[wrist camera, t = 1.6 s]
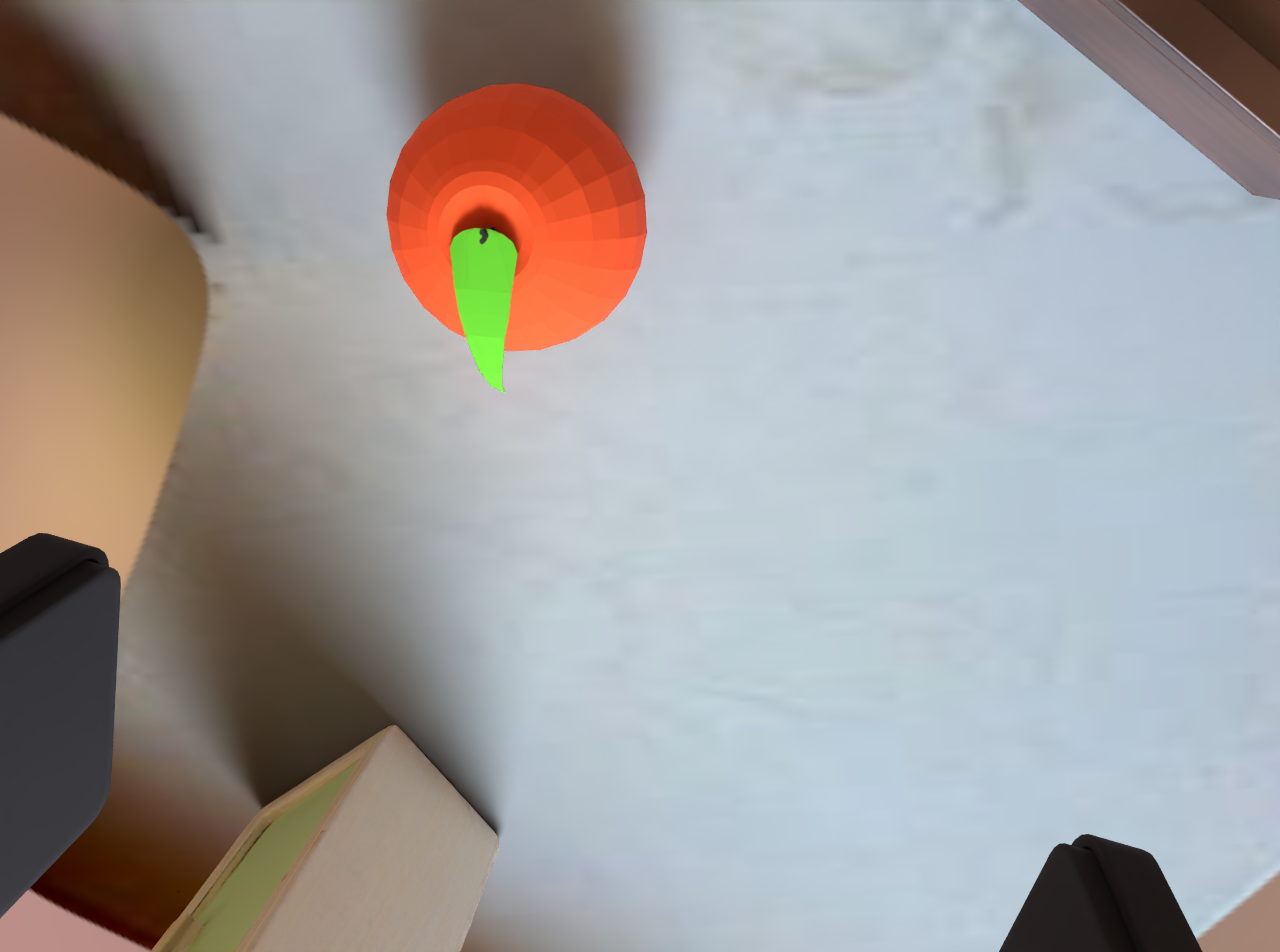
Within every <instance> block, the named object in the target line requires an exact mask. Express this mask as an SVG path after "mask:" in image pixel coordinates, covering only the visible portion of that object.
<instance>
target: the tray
mask: <svg viewBox="0 0 1280 952" xmlns="http://www.w3.org/2000/svg"><path fill="white" fill-rule="evenodd" d="M1018 1H1019V2H1021V3H1022V4H1023V5H1024V6H1025V7H1027V8H1028V9H1029V10H1030V11H1031V12H1033V13H1034V14H1035V15H1036V16H1037V17H1039V18H1040V19H1041V20H1042V21H1043V22H1045V23H1046V24H1047V25H1048V26H1050V27H1051V28H1052V29H1053V30H1054V31H1056V32H1057V33H1058V34H1059V35H1060V36H1062V37H1063V38H1064V39H1065V40H1066V41H1068V42H1069V43H1070V44H1071V45H1072V46H1074V47H1075V48H1076V49H1077V50H1078V51H1080V52H1081V53H1082V54H1083V55H1084V56H1086V57H1087V58H1088V59H1089V60H1090V61H1092V62H1093V63H1094V64H1095V65H1097V66H1098V67H1099V68H1100V69H1101V70H1103V71H1104V72H1105V73H1106V74H1107V75H1109V76H1110V77H1111V78H1112V79H1113V80H1115V81H1116V82H1117V83H1118V84H1119V85H1121V86H1122V87H1123V88H1124V89H1125V90H1127V91H1128V92H1129V93H1130V94H1131V95H1133V96H1134V97H1135V98H1136V99H1138V100H1139V101H1140V102H1141V103H1142V104H1144V105H1145V106H1146V107H1147V108H1148V109H1150V110H1151V111H1152V112H1153V113H1154V114H1156V115H1157V116H1158V117H1159V118H1160V119H1162V120H1163V121H1164V122H1165V123H1166V124H1168V125H1169V126H1170V127H1171V128H1172V129H1174V130H1175V131H1176V132H1177V133H1178V134H1180V135H1181V136H1182V137H1183V138H1185V139H1186V140H1187V141H1188V142H1189V143H1191V144H1192V145H1193V146H1194V147H1195V148H1197V149H1198V150H1199V151H1200V152H1201V153H1203V154H1204V155H1205V156H1206V157H1207V158H1209V159H1210V160H1211V161H1212V162H1213V163H1215V164H1216V165H1217V166H1218V167H1219V168H1221V169H1222V170H1223V171H1224V172H1226V173H1227V174H1228V175H1229V176H1230V177H1232V178H1233V179H1234V180H1235V181H1236V182H1238V183H1239V184H1240V185H1241V186H1242V187H1244V188H1245V189H1246V190H1247V191H1248V192H1250V193H1251V194H1252V195H1256V196H1262V197H1267V198H1273V199H1278V200H1280V0H1018Z"/></svg>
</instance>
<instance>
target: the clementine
mask: <svg viewBox="0 0 1280 952" xmlns="http://www.w3.org/2000/svg"><path fill="white" fill-rule="evenodd" d="M387 220H388V227H389V233H390V240H391V247H392V251H393V253H394V256H395V258H396V261H397V263H398V266H399V268H400V271H401V273H402V276H403V278H404V280H405V281H406V283H407V284H408V286H409V287H410V289H411V290H412V291H413V293H414V294H415V296H416V297H417V298H418V300H419V301H420V303H421V304H422V305H423V307H424V308H425V309H426V310H428V311H429V312H430V313H431V314H432V315H433V316H434V317H436V318H437V319H438V320H439V321H440V322H441V323H442V324H444V325H445V326H446V327H447V328H448V329H450V330H452V331H454V332H456V333H457V334H459V335H461V336H463V337H465V338H467V341H468V344H469V347H470V349H471V352H472V355H473V357H474V359H475V362H476V364H477V366H478V369H479V371H480V372H481V374H482V375H483V376H484V378H485V379H486V380H487V382H488V383H489V384H490V386H492V387H494V388H496V389H498V390H500V391H502V392H504V393H505V390H504V388H503V386H502V369H503V357H504V350H506V351H522V350H541V349H544V348H547V347H551V346H554V345H557V344H560V343H563V342H567V341H570V340H572V339H575V338H577V337H579V336H580V335H582V334H584V333H585V332H587V331H588V330H590V329H591V328H593V327H594V326H596V325H598V324H599V323H601V322H602V321H604V320H605V319H606V317H607V316H608V315H609V314H610V313H611V312H612V311H613V310H614V308H615V307H616V306H617V305H618V304H619V303H620V302H621V301H622V299H623V298H624V297H625V296H626V294H627V292H628V290H629V288H630V286H631V284H632V282H633V280H634V278H635V276H636V274H637V272H638V270H639V267H640V264H641V259H642V254H643V249H644V244H645V239H646V234H647V228H646V211H645V195H644V192H643V189H642V186H641V183H640V179H639V176H638V173H637V170H636V167H635V164H634V162H633V160H632V159H631V157H630V156H629V154H628V152H627V151H626V149H625V148H624V146H623V144H622V143H621V141H620V140H619V138H618V136H617V135H616V133H615V132H614V131H613V130H612V129H611V128H610V127H608V126H607V125H606V124H605V123H604V122H603V121H602V120H601V119H600V118H599V117H598V116H597V115H596V114H595V113H594V112H593V111H591V110H590V109H589V108H588V107H587V106H585V105H583V104H581V103H579V102H577V101H575V100H573V99H572V98H570V97H568V96H566V95H564V94H562V93H560V92H558V91H557V90H552V89H548V88H543V87H538V86H534V85H529V84H525V83H516V84H502V85H488V86H485V87H483V88H480V89H478V90H475V91H472V92H470V93H467V94H465V95H462V96H459V97H457V98H455V99H453V100H450V101H448V102H447V103H446V104H444V105H443V106H442V107H440V108H439V109H438V110H437V111H435V112H434V113H433V114H431V115H430V116H429V117H428V118H426V119H425V120H424V121H422V122H421V124H420V125H419V126H418V128H417V129H416V130H415V132H414V133H413V135H412V136H411V137H410V139H409V140H408V141H407V143H406V144H405V146H404V147H403V148H402V150H401V153H400V156H399V158H398V161H397V164H396V166H395V169H394V172H393V174H392V177H391V180H390V187H389V197H388V207H387Z"/></svg>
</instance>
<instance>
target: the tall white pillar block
mask: <svg viewBox="0 0 1280 952" xmlns="http://www.w3.org/2000/svg"><path fill="white" fill-rule="evenodd" d="M498 849H499V838H498V836H497V835H496V833H495V832H494V831H493V830H492V829H491V828H490V827H489V825H488V824H487V823H486V822H485V821H484V820H483V819H482V818H481V817H480V816H479V815H478V813H477V812H476V811H475V810H474V809H473V808H472V807H471V806H470V804H469V803H468V802H467V801H466V800H465V799H464V798H463V797H462V796H461V795H460V794H459V793H458V791H457V790H456V789H455V788H454V787H453V785H452V784H451V783H450V782H449V781H448V780H447V779H446V778H445V777H444V776H443V775H442V774H441V773H440V772H439V770H438V769H437V768H436V767H435V766H434V765H433V764H432V763H431V762H430V761H429V760H428V758H427V757H426V756H425V755H424V754H423V753H422V752H421V751H420V750H419V749H418V747H417V746H416V745H415V744H414V743H413V742H412V741H411V740H410V739H409V738H408V737H407V735H406V734H405V733H404V732H403V731H402V730H401V729H400V728H399V727H398V726H396V725H391V726H388V727H386V728H385V729H383V730H381V731H380V732H378V733H377V734H375V735H374V736H372V737H371V738H369V739H367V740H366V741H364V742H363V743H361V744H360V745H358V746H357V747H355V748H354V749H352V750H351V751H349V752H348V753H346V754H345V755H343V756H342V757H340V758H338V759H337V760H335V761H334V762H332V763H331V764H329V765H328V766H326V767H325V768H323V769H322V770H320V771H319V772H317V773H316V774H314V775H312V776H311V777H309V778H308V779H306V780H305V781H303V782H302V783H300V784H299V785H297V786H296V787H294V788H293V789H291V790H290V791H288V792H287V793H285V794H284V795H282V796H280V797H279V798H277V799H276V800H274V801H273V802H271V803H270V804H268V805H267V806H265V807H264V808H262V809H261V810H260V811H259V812H258V813H257V814H256V815H255V816H254V817H253V819H252V820H251V821H250V822H249V824H248V825H247V826H246V828H245V829H244V831H243V832H242V833H241V835H240V836H239V837H238V838H237V840H236V841H235V842H234V844H233V845H232V847H231V848H230V850H229V851H228V852H227V854H226V855H225V856H224V858H223V859H222V860H221V862H220V863H219V864H218V866H217V867H216V868H215V870H214V871H213V873H212V874H211V875H210V877H209V878H208V879H207V881H206V882H205V883H204V885H203V886H202V887H201V889H200V890H199V891H198V893H197V894H196V895H195V897H194V898H193V899H192V901H191V902H190V903H189V905H188V906H187V908H186V909H185V910H184V912H183V913H182V914H181V915H180V917H179V918H178V919H177V920H176V921H174V922H173V924H172V925H171V926H170V927H169V929H168V930H167V931H166V932H165V934H164V935H163V936H162V938H161V939H160V940H159V941H158V943H157V944H156V945H155V947H154V948H153V949H152V951H151V952H460V951H461V948H462V946H463V943H464V940H465V938H466V935H467V932H468V930H469V927H470V925H471V922H472V919H473V917H474V914H475V911H476V909H477V906H478V903H479V901H480V898H481V895H482V893H483V890H484V888H485V885H486V882H487V880H488V877H489V874H490V872H491V869H492V866H493V864H494V861H495V859H496V856H497V853H498Z"/></svg>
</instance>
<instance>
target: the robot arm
mask: <svg viewBox="0 0 1280 952" xmlns="http://www.w3.org/2000/svg"><path fill="white" fill-rule="evenodd" d="M120 589H121V582H120V576H119V574H118V571H116V570H115V569H114V568H111V567H109V564H108V559H107V557H106V555H105V553H104V552H103V551H102V550H100V549H99V548H96V547H92V546H88V545H85V544H82V543H78V542H75V541H72V540H68V539H64V538H61V537H58V536H54V535H51V534H46V533H38V534H36V535H33V536H30V537H28V538H27V539H25V540H23V541H21V542H19V543H18V544H16V545H14V546H12V547H11V548H9V549H7V550H5V551H4V552H2V553H0V918H1V917H2V916H3V915H4V914H5V913H6V912H7V911H8V910H9V909H10V908H11V906H12V905H14V904H15V902H16V901H17V900H18V899H19V898H20V897H21V896H22V895H23V894H24V893H25V892H26V891H27V890H28V889H29V888H30V887H31V886H32V885H33V884H34V883H35V882H36V881H37V880H38V879H39V878H40V876H41V875H42V874H43V873H44V872H45V871H46V870H47V869H48V868H49V867H50V866H51V865H52V864H53V863H54V862H55V861H56V860H57V859H58V858H59V857H60V856H61V855H62V854H63V853H64V852H65V850H66V849H67V848H68V847H69V846H70V845H71V844H72V843H73V842H74V841H75V840H76V839H77V838H78V837H79V836H80V835H81V834H82V833H83V832H84V831H85V830H86V829H87V828H88V827H89V826H90V824H91V823H92V822H93V821H94V820H95V818H96V817H97V816H98V814H99V813H100V811H101V809H102V808H103V806H104V804H105V801H106V799H107V796H108V793H109V790H110V785H111V771H112V751H113V731H114V710H115V690H116V670H117V650H118V629H119V609H120ZM999 952H1202V950H1201V948H1200V947H1199V944H1198V942H1197V940H1196V938H1195V936H1194V934H1193V932H1192V930H1191V928H1190V926H1189V924H1188V922H1187V920H1186V918H1185V916H1184V914H1183V912H1182V910H1181V909H1180V907H1179V905H1178V903H1177V901H1176V899H1175V897H1174V895H1173V893H1172V891H1171V889H1170V887H1169V885H1168V883H1167V881H1166V879H1165V877H1164V875H1163V873H1162V871H1161V869H1160V867H1159V865H1158V863H1157V862H1156V860H1155V859H1154V857H1153V856H1152V855H1151V854H1150V853H1148V852H1146V851H1145V850H1142V849H1138V848H1135V847H1131V846H1128V845H1124V844H1121V843H1118V842H1114V841H1111V840H1107V839H1104V838H1100V837H1097V836H1093V835H1090V834H1085V835H1081V836H1079V837H1078V838H1077V839H1075V840H1074V842H1073V843H1072V845H1068V844H1065V843H1064V844H1059V845H1057V846H1056V847H1055V848H1054V849H1053V850H1052V852H1051V853H1050V855H1049V857H1048V859H1047V861H1046V863H1045V865H1044V867H1043V868H1042V870H1041V872H1040V874H1039V876H1038V878H1037V880H1036V882H1035V884H1034V886H1033V888H1032V890H1031V891H1030V893H1029V895H1028V897H1027V899H1026V901H1025V903H1024V905H1023V907H1022V909H1021V911H1020V913H1019V914H1018V916H1017V918H1016V920H1015V922H1014V924H1013V926H1012V928H1011V930H1010V932H1009V934H1008V936H1007V937H1006V939H1005V941H1004V943H1003V945H1002V947H1001V949H1000V951H999Z"/></svg>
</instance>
